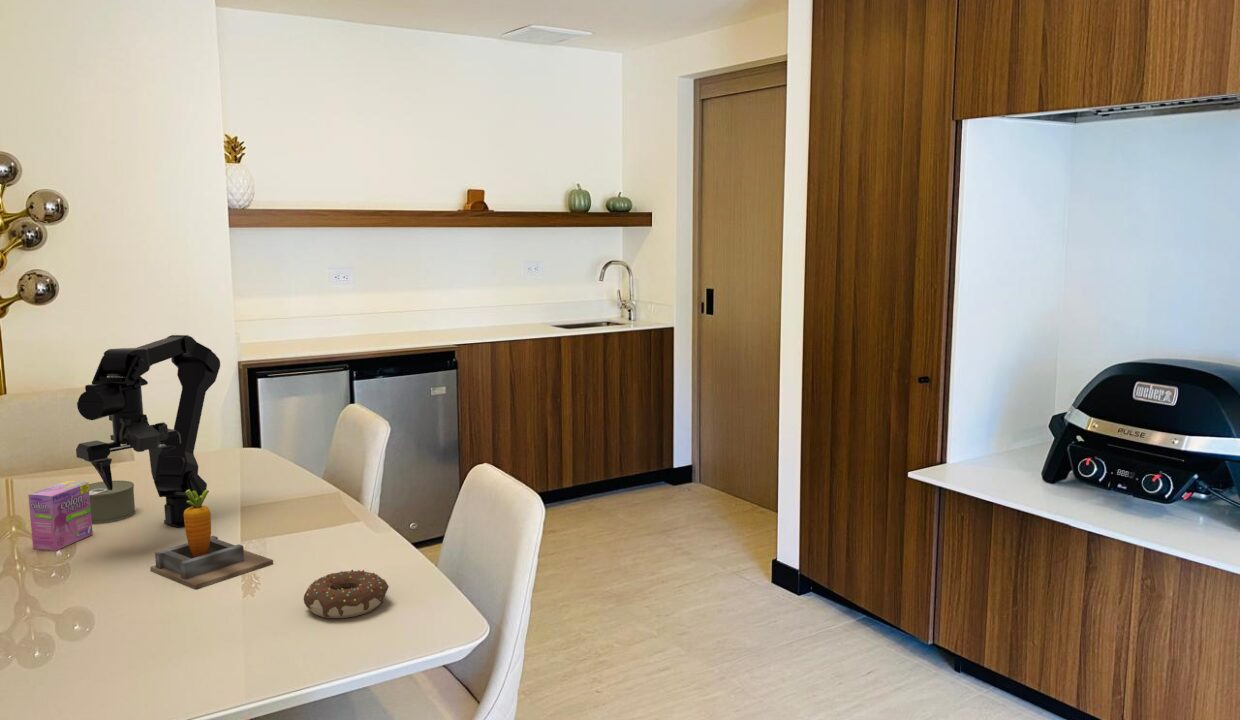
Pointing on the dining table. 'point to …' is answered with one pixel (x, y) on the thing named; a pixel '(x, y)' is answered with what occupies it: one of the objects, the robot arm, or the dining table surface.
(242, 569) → the grey frame on base
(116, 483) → the can
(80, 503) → the box
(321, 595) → the donut
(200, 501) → the carrot
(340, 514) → the dining table surface
